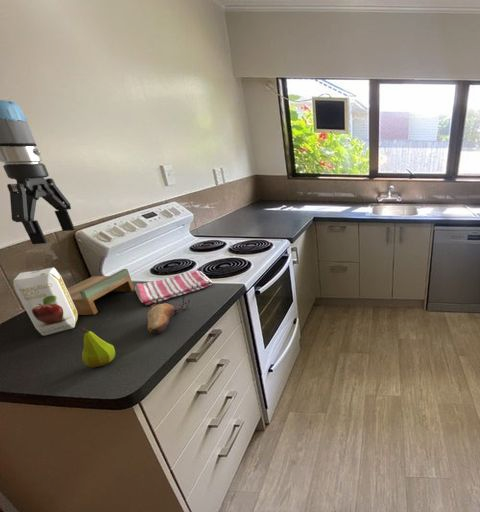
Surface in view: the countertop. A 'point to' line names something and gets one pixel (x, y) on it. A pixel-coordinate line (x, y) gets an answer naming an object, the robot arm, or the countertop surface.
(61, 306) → the juice carton
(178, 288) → the dish towel
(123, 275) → the shelf
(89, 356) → the fruit
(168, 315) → the vegetable
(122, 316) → the countertop surface
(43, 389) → the countertop surface
